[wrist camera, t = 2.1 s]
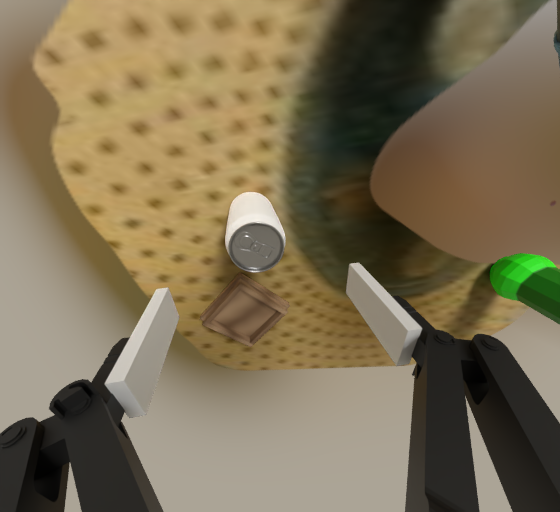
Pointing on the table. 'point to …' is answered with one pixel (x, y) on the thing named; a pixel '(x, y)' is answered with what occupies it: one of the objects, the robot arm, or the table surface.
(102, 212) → the table surface
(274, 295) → the tray
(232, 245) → the can
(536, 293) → the plastic bottle
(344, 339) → the table surface
